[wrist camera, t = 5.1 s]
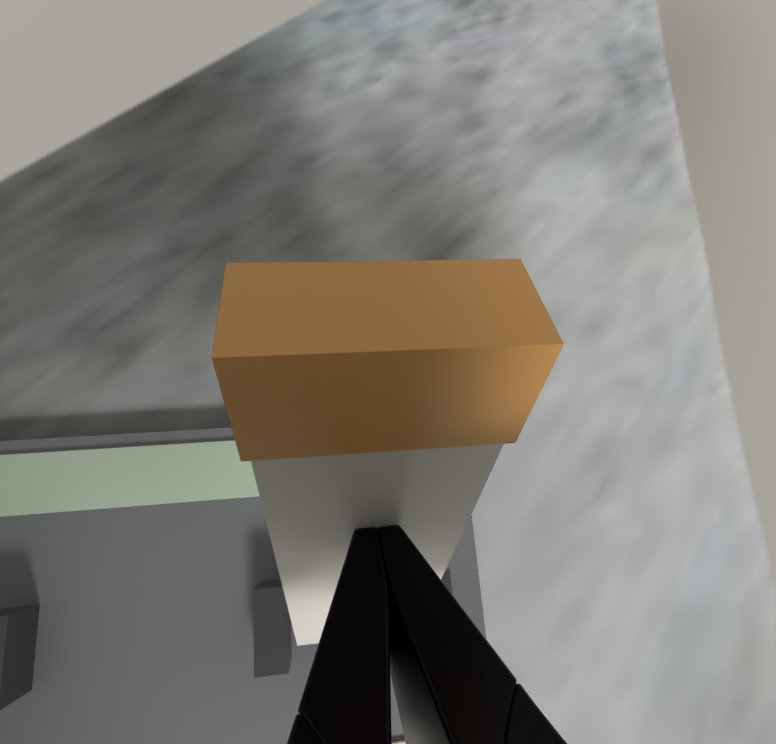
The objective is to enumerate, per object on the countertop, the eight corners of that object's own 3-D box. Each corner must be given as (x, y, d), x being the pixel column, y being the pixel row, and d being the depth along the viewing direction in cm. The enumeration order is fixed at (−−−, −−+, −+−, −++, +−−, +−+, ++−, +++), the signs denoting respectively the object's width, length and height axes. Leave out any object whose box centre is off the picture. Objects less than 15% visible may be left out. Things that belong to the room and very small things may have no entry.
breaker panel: (498, 800, 16) (526, 849, 14) (-279, 938, 13) (-406, 1030, 11) (454, 417, 20) (471, 405, 17) (-177, 455, 16) (-258, 446, 14)
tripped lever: (416, 643, 16) (564, 344, 5) (296, 658, 15) (212, 358, 5) (409, 590, 17) (520, 259, 7) (296, 603, 16) (225, 262, 6)
